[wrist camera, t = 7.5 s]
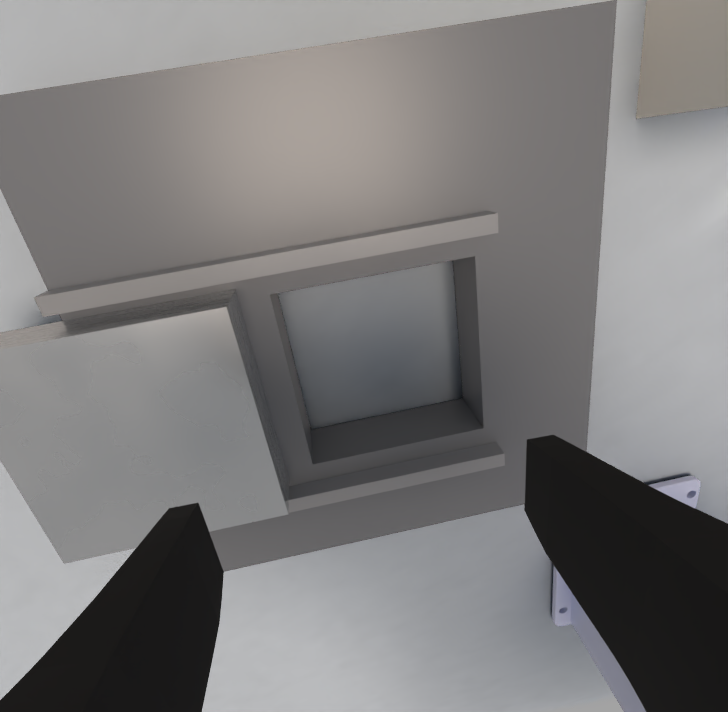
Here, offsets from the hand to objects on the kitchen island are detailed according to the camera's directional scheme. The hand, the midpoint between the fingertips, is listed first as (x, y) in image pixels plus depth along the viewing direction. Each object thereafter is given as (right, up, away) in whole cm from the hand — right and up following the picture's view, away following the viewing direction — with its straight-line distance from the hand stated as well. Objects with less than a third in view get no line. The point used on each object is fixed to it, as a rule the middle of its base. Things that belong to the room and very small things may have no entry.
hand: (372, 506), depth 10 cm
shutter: (-8, +1, +6) cm, 10 cm away
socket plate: (-1, +5, +8) cm, 9 cm away
